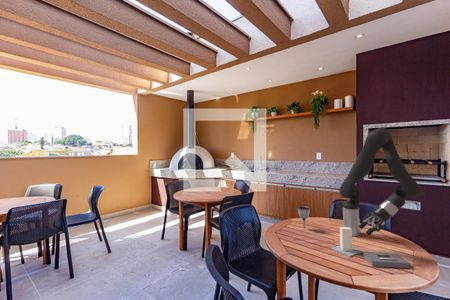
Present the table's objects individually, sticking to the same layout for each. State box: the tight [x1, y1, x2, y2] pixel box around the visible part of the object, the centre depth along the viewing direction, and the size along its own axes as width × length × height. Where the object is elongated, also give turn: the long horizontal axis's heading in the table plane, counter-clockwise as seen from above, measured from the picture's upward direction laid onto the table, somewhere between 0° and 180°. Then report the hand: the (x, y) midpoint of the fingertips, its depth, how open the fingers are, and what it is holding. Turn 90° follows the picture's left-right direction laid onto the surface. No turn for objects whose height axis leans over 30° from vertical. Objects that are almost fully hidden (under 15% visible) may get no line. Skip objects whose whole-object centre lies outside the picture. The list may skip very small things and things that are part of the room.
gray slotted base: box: [362, 251, 411, 269], centre depth 109 cm, size 16×10×3 cm, turn 81°
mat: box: [330, 244, 364, 258], centre depth 122 cm, size 11×11×1 cm
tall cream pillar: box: [339, 226, 353, 251], centre depth 122 cm, size 5×4×12 cm
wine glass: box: [297, 206, 311, 228], centre depth 157 cm, size 8×8×15 cm
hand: (363, 230), depth 121 cm, fingers open, 8 cm apart
